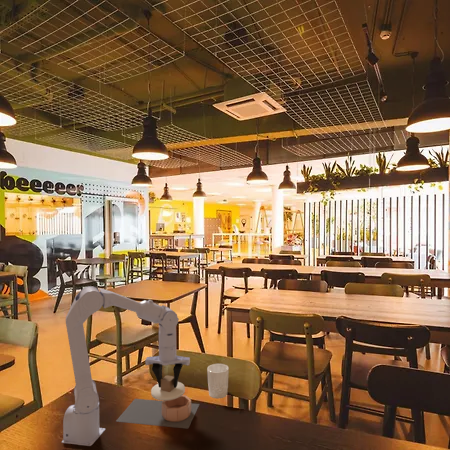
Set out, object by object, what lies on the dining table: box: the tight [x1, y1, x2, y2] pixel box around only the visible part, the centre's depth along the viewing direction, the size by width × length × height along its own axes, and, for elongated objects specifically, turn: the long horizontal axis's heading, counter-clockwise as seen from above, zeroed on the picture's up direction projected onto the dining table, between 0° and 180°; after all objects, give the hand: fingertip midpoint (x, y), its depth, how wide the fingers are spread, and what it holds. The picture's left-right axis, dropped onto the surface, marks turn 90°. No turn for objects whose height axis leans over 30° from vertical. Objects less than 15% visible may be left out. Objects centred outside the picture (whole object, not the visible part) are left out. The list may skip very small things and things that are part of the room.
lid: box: [150, 374, 186, 401], centre depth 109 cm, size 11×11×4 cm
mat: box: [115, 398, 201, 430], centre depth 110 cm, size 24×14×1 cm, turn 80°
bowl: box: [162, 394, 192, 422], centre depth 109 cm, size 9×9×4 cm
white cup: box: [206, 363, 230, 399], centre depth 121 cm, size 8×8×10 cm
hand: (168, 386), depth 109 cm, fingers closed on lid, 4 cm apart
